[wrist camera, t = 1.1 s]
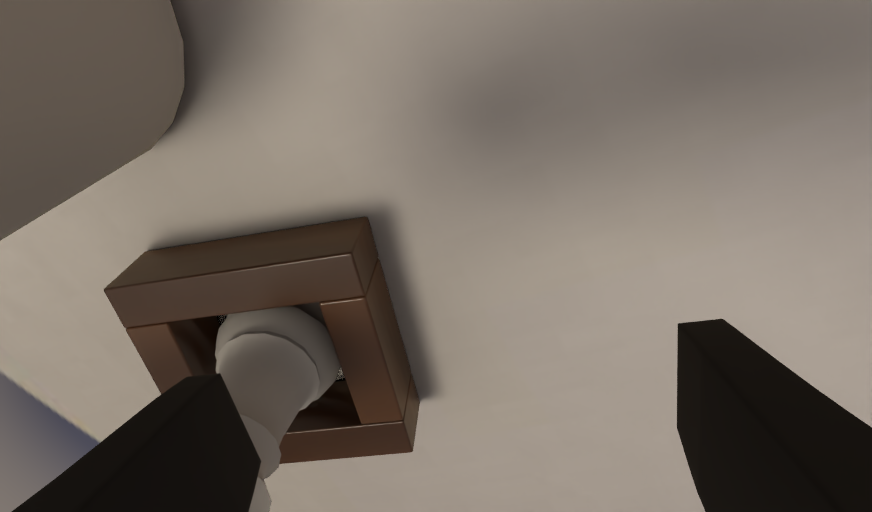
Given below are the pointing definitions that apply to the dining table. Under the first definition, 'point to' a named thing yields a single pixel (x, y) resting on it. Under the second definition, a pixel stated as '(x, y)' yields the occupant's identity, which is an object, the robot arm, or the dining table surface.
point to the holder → (270, 288)
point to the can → (80, 95)
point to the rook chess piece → (274, 375)
